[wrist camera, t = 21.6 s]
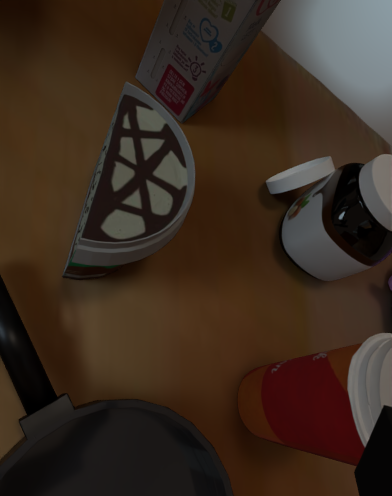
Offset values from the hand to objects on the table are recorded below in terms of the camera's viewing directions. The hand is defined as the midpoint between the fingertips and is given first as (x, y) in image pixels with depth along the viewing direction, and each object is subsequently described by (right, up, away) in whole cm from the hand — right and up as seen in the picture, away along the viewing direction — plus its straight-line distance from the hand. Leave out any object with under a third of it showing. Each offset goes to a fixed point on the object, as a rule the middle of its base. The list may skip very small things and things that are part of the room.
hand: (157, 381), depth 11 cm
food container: (-5, +5, +18) cm, 20 cm away
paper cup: (+7, -9, +19) cm, 22 cm away
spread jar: (+12, +7, +28) cm, 31 cm away
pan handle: (-11, -2, +12) cm, 17 cm away
